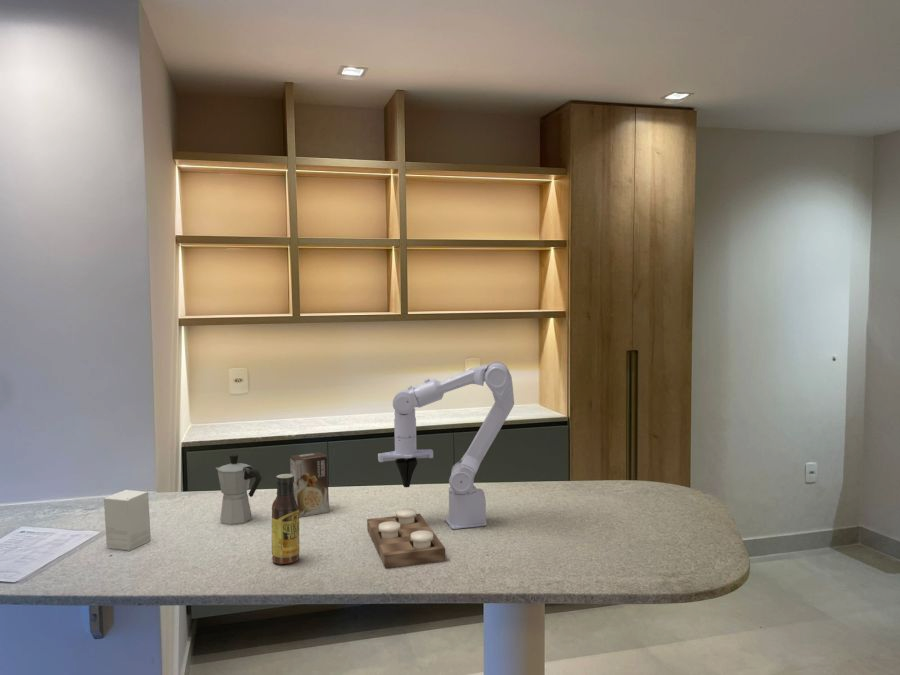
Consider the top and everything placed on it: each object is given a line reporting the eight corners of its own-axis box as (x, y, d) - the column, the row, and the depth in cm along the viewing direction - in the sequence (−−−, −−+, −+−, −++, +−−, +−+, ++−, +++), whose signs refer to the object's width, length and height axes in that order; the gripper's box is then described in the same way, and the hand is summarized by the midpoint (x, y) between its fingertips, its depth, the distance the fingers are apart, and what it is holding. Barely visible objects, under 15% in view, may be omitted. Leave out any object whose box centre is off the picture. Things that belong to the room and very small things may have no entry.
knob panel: (420, 524, 182) (419, 513, 181) (445, 560, 158) (445, 548, 157) (367, 530, 178) (367, 519, 178) (385, 568, 154) (384, 555, 154)
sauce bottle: (285, 568, 155) (283, 481, 153) (266, 562, 158) (263, 477, 156) (306, 558, 160) (303, 474, 159) (286, 552, 164) (284, 470, 162)
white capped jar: (414, 526, 180) (413, 507, 179) (418, 532, 175) (418, 513, 174) (394, 528, 178) (394, 509, 178) (398, 535, 173) (398, 515, 173)
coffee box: (322, 506, 198) (321, 451, 197) (329, 512, 192) (328, 456, 191) (291, 511, 194) (289, 455, 192) (297, 518, 188) (295, 460, 187)
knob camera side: (430, 550, 163) (429, 529, 163) (435, 558, 158) (435, 537, 158) (408, 552, 162) (408, 531, 162) (413, 561, 157) (413, 539, 157)
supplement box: (151, 540, 172) (149, 491, 171) (129, 551, 165) (126, 500, 164) (128, 537, 175) (126, 488, 174) (105, 548, 168) (102, 497, 167)
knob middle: (398, 540, 170) (397, 520, 170) (402, 547, 165) (402, 527, 165) (377, 542, 168) (377, 522, 168) (381, 550, 164) (380, 529, 163)
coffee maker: (206, 522, 186) (203, 456, 184) (228, 512, 194) (225, 449, 192) (251, 528, 180) (249, 461, 179) (272, 518, 188) (270, 453, 187)
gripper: (380, 441, 176) (382, 493, 177) (435, 436, 179) (436, 487, 181) (376, 435, 182) (377, 485, 183) (429, 431, 186) (430, 480, 187)
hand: (406, 486), depth 182 cm, fingers closed
